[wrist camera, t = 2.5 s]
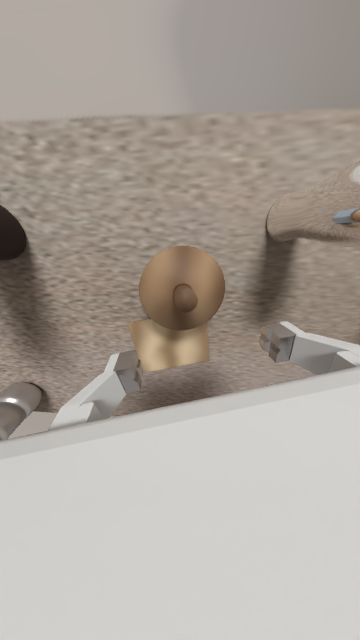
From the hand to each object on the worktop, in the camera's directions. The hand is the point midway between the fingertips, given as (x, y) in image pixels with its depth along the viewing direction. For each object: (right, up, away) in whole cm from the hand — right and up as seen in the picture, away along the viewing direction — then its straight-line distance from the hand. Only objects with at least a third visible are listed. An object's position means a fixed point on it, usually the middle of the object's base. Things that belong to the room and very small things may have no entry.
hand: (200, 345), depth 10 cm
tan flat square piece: (-3, -3, +20) cm, 21 cm away
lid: (-1, +5, +11) cm, 12 cm away
